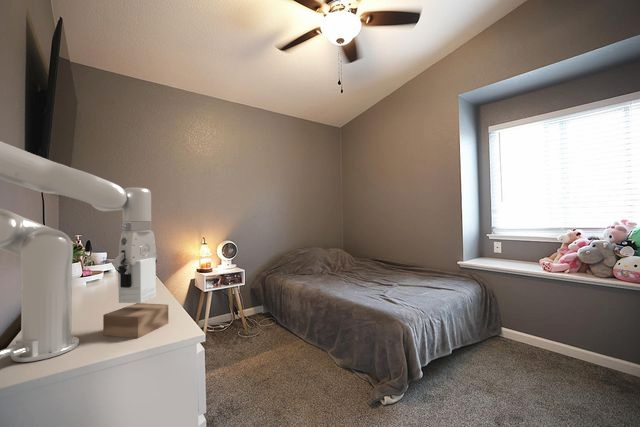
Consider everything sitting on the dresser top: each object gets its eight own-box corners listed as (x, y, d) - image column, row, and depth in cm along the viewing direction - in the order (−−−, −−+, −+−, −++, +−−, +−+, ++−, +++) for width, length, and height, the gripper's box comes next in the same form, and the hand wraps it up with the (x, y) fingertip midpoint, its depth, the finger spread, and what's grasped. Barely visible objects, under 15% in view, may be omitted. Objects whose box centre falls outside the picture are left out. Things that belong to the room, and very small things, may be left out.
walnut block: (138, 338, 82) (137, 317, 82) (103, 335, 84) (103, 314, 84) (168, 323, 94) (168, 304, 94) (137, 321, 96) (137, 303, 96)
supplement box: (157, 296, 92) (156, 257, 93) (140, 303, 85) (140, 260, 85) (135, 296, 93) (135, 257, 93) (117, 303, 86) (117, 260, 86)
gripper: (122, 228, 80) (123, 291, 80) (168, 226, 97) (168, 278, 97) (100, 228, 82) (101, 290, 81) (149, 226, 99) (149, 278, 98)
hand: (137, 283), depth 89 cm, fingers closed on supplement box, 7 cm apart
